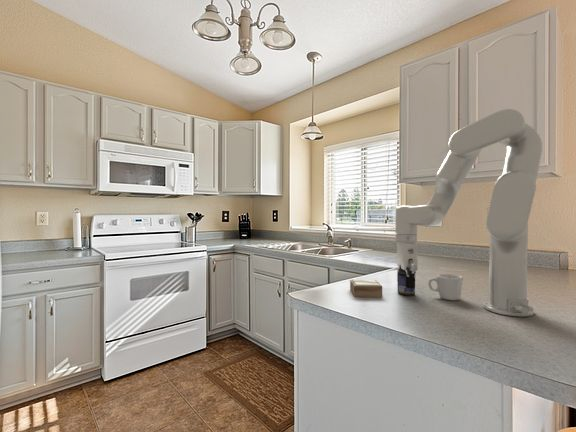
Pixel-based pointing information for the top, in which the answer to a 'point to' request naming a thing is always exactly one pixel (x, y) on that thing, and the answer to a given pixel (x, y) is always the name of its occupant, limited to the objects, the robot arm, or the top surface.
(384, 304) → the top surface
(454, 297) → the cup
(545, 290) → the top surface
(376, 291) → the base block
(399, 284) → the pill bottle
